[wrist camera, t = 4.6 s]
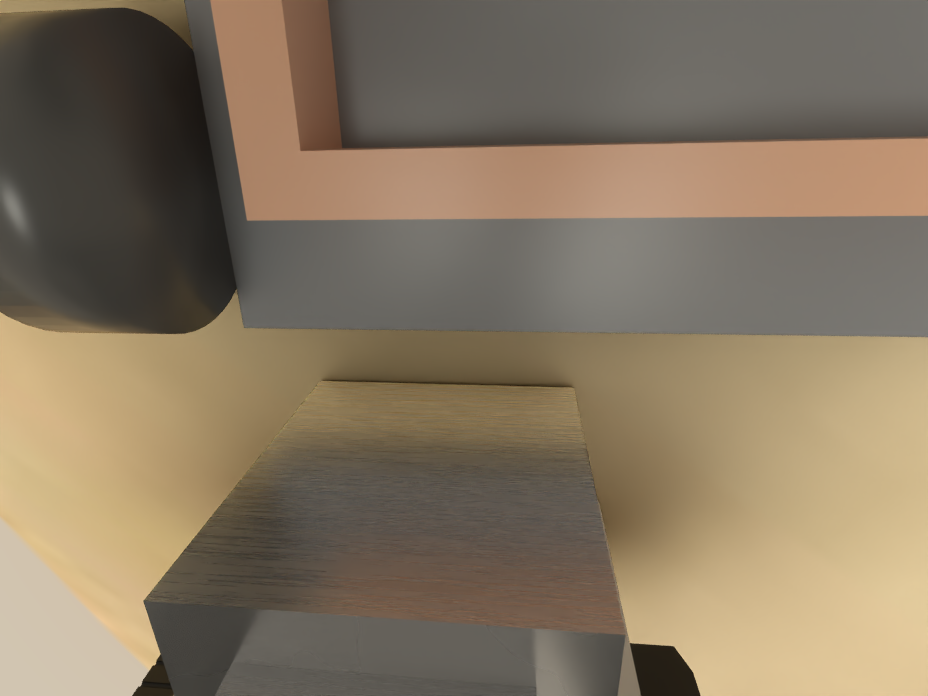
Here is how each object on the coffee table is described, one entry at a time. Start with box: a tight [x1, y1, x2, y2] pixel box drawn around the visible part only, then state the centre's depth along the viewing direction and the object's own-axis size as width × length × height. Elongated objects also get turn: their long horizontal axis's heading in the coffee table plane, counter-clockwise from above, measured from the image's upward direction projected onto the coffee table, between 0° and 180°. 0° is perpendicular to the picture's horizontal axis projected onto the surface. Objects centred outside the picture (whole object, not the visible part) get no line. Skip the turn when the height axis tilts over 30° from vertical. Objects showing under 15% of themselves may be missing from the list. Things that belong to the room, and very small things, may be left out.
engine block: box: [144, 381, 625, 696], centre depth 10 cm, size 8×6×8 cm
